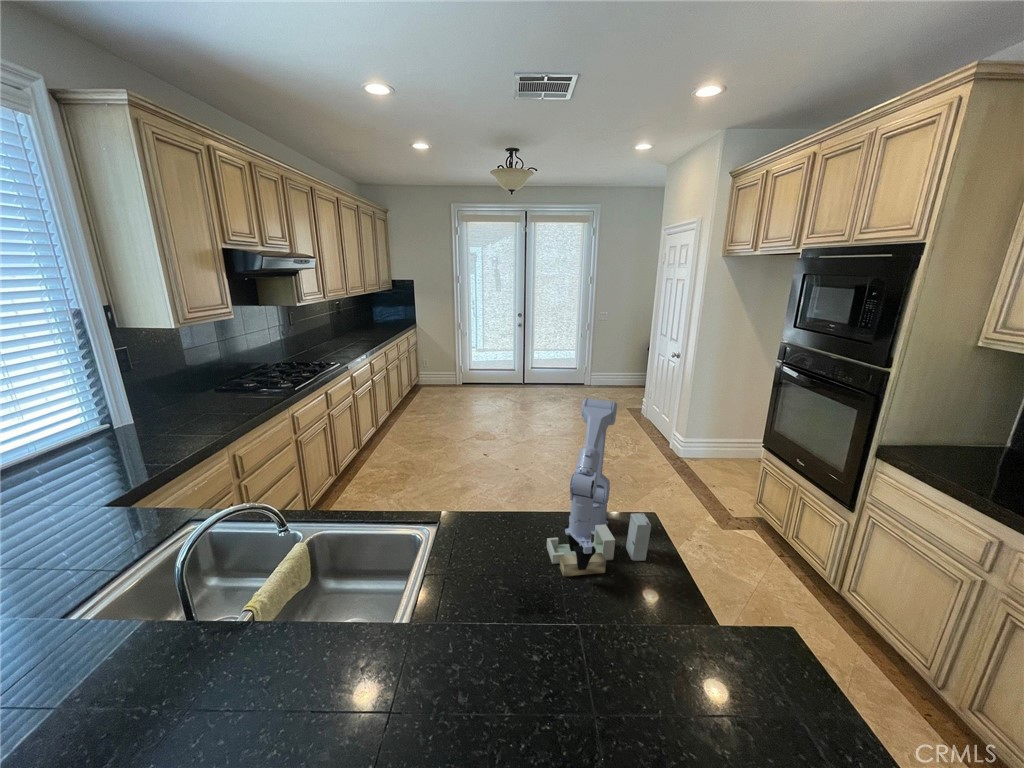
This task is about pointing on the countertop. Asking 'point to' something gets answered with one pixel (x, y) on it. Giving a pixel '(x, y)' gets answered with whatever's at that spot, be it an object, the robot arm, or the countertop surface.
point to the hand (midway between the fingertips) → (577, 559)
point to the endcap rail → (602, 544)
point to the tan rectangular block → (571, 569)
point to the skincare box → (638, 537)
